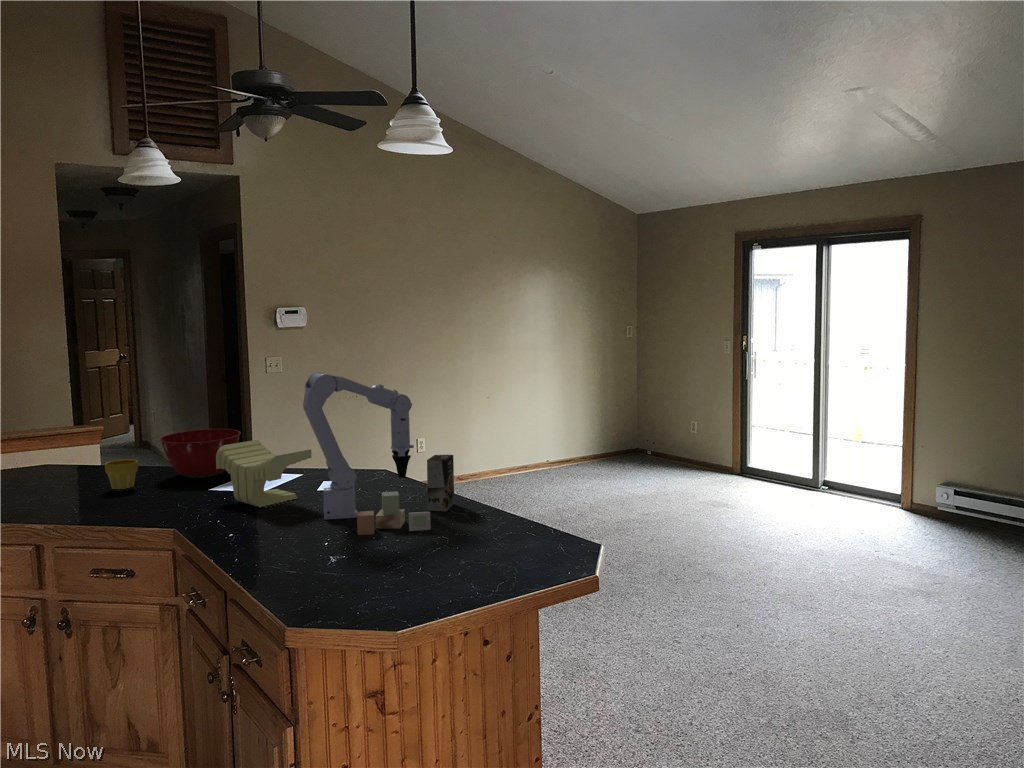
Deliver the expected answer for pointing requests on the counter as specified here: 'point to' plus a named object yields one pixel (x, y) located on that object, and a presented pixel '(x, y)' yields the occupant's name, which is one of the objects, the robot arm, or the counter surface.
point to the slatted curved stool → (256, 471)
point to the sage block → (390, 503)
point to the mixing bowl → (197, 450)
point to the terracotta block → (365, 522)
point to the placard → (419, 521)
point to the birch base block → (390, 519)
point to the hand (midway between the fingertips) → (401, 474)
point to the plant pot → (121, 473)
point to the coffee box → (440, 482)
